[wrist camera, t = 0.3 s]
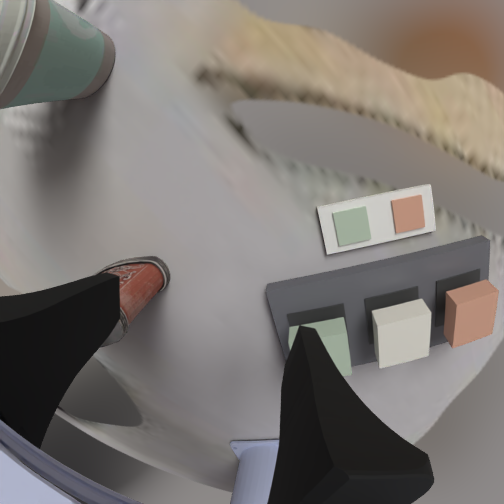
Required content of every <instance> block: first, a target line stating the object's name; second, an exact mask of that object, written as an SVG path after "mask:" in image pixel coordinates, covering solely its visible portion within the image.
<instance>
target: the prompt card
mask: <svg viewBox="0 0 504 504" xmlns="http://www.w3.org/2000/svg"><path fill="white" fill-rule="evenodd" d="M317 210H318V214H319V219H320V223H321V228H322V233H323V237H324V242H325V247H326V252H327V255H328V254H333V253H338V252H342V251H347V250H351V249H356V248H361V247H365V246H370V245H374V244H379V243H383V242H388V241H392V240H397V239H401V238H405V237H410V236H414V235H419V234H423V233H427V232H432V231H436V227H435V216H434V206H433V198H432V190H431V185H430V184H426V185H421V186H415V187H410V188H405V189H400V190H395V191H390V192H385V193H380V194H375V195H370V196H365V197H361V198H356V199H351V200H346V201H342V202H337V203H332V204H328V205H323V206H319V207H317Z"/></svg>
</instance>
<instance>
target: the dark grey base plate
mask: <svg viewBox="0 0 504 504" xmlns="http://www.w3.org/2000/svg"><path fill="white" fill-rule="evenodd" d="M489 258H490V240H489V239H487V238H485V237H484V236H482V235H481V236H478V237H474V238H470V239H466V240H462V241H458V242H455V243H451V244H447V245H443V246H439V247H435V248H430V249H426V250H422V251H418V252H414V253H410V254H405V255H401V256H397V257H393V258H388V259H384V260H379V261H375V262H371V263H366V264H362V265H357V266H352V267H348V268H343V269H338V270H334V271H329V272H324V273H319V274H315V275H310V276H305V277H300V278H295V279H290V280H285V281H280V282H275V283H269V284H267V288H266V294H267V298H268V301H269V305H270V308H271V312H272V315H273V318H274V322H275V325H276V329H277V332H278V336H279V339H280V343H281V346H282V350H283V353H284V357H285V360H286V361H287V358H288V356H289V353H290V348H289V344H288V342H289V327H293V326H298V325H304V324H310V323H315V322H320V321H326V320H331V319H336V318H341V317H344V321H345V326H346V330H347V337H348V344H349V352H350V361H351V366H356V365H361V364H366V363H370V362H375V361H377V358H376V355H375V348H374V332H373V320H372V311H373V310H377V309H382V308H386V307H390V306H394V305H398V304H402V303H406V302H410V301H414V300H418V299H423V301H424V302H425V304H426V305H427V307H428V308H429V310H430V311H431V331H430V345H429V347H432V346H435V345H438V344H442V343H445V342H448V340H447V339H446V337H445V336H444V322H445V305H446V292H447V291H450V290H454V289H457V288H460V287H464V286H467V285H470V284H473V283H476V282H480V281H483V280H486V279H487V280H488V276H489Z"/></svg>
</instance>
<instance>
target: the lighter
mask: <svg viewBox="0 0 504 504" xmlns="http://www.w3.org/2000/svg"><path fill="white" fill-rule="evenodd" d="M106 272H108V273H111V274H114V275H117V276H120V316H121V318H120V320H119V321H118V323H117V324H116V326H115V328H114V329H113V331H112V332H111V334H110V335H109V337H108V338H107V339H106V340H105V341H104V343H103V344H102V345H101V346H100V347H105V346H107V345H110V344H113V343H115V342H118V341H119V340H121V339H122V338H123V336H124V335H125V334H126V333H127V331H128V328H129V324H130V323H131V322H132V321H133V320H134V318H135V317H136V316H137V315H138V314H139V313H140V311H141V310H142V309H143V308H144V307H145V306H146V304H147V303H148V302H149V301H150V300H151V299H152V298H153V296H154V295H155V294H156V293H158V292H160V291H162V290H163V289H164V288H165V287H166V286H167V284H168V283H169V281H170V271H169V268H168V266H167V265H166V263H165V262H164V261H163V260H162V259H160V258H158V257H155V256H145V257H134V258H129V259H125V260H120V261H118V262H115V263H113V264H111V265H108V266H106V267H105V268H103V269H102V270H100V271H98V272H97V273H96V274H94V275H97V274H101V273H106ZM100 347H99V348H100Z"/></svg>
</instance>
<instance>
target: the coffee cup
mask: <svg viewBox="0 0 504 504" xmlns="http://www.w3.org/2000/svg"><path fill="white" fill-rule="evenodd" d="M114 60H115V47H114V43H113V41H112V39H111V38H110V37H109V36H108V35H106V34H105V33H104V32H102V31H101V30H99V29H98V28H96V27H95V26H93V25H92V24H90V23H89V22H87V21H86V20H84V19H82V18H81V17H79V16H78V15H76V14H75V13H73V12H71V11H70V10H68V9H66V8H65V7H63V6H61V5H60V4H58V3H56V2H55V1H53V0H0V109H4V108H9V107H15V106H21V105H27V104H34V103H42V102H50V101H59V100H69V99H80V98H85V97H88V96H90V95H91V94H93V93H94V92H96V91H97V90H98V89H99V88H100V87H101V86H102V85H103V84H104V82H105V81H106V79H107V78H108V76H109V74H110V72H111V70H112V67H113V64H114Z"/></svg>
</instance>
